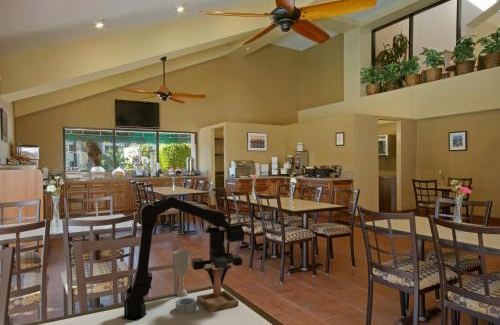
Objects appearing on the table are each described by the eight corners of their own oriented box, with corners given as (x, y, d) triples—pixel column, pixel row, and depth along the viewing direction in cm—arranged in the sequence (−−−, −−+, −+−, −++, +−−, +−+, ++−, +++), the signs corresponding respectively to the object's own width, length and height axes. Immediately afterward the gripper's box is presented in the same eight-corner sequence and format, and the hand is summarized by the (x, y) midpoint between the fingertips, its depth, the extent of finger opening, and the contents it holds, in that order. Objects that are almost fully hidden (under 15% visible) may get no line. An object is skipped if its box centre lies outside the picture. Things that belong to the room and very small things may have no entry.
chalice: (193, 293, 141) (193, 250, 141) (188, 299, 134) (188, 254, 134) (176, 292, 142) (176, 249, 142) (170, 299, 135) (170, 254, 135)
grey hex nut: (172, 313, 122) (172, 304, 122) (182, 305, 129) (182, 296, 129) (190, 316, 120) (190, 306, 120) (199, 307, 127) (199, 298, 127)
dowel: (211, 294, 128) (211, 270, 128) (214, 291, 131) (214, 268, 131) (219, 295, 127) (219, 271, 128) (222, 292, 130) (222, 268, 130)
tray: (208, 314, 121) (208, 307, 121) (197, 302, 132) (197, 295, 132) (238, 307, 127) (238, 300, 127) (225, 296, 138) (225, 290, 138)
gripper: (196, 250, 119) (196, 295, 119) (246, 246, 125) (246, 288, 125) (191, 243, 130) (191, 284, 129) (238, 240, 135) (238, 279, 135)
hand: (217, 284), depth 129 cm, fingers closed on dowel, 3 cm apart
